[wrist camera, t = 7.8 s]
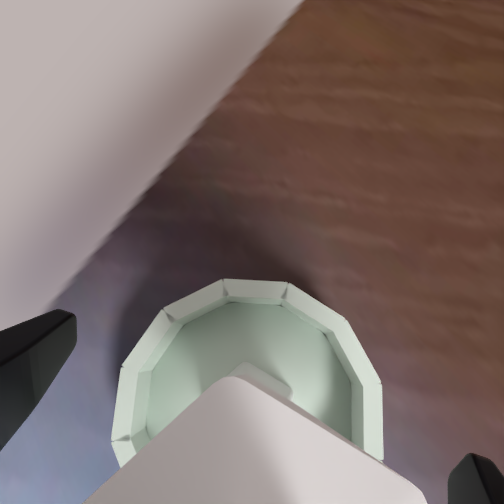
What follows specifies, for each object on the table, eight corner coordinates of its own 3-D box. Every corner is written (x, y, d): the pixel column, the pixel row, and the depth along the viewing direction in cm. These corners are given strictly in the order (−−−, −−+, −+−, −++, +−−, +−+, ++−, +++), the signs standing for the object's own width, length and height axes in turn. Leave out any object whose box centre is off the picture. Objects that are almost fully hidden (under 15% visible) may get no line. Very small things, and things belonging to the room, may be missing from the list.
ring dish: (285, 592, 15) (290, 636, 13) (88, 438, 17) (59, 452, 14) (406, 369, 17) (430, 372, 15) (220, 249, 19) (214, 234, 16)
